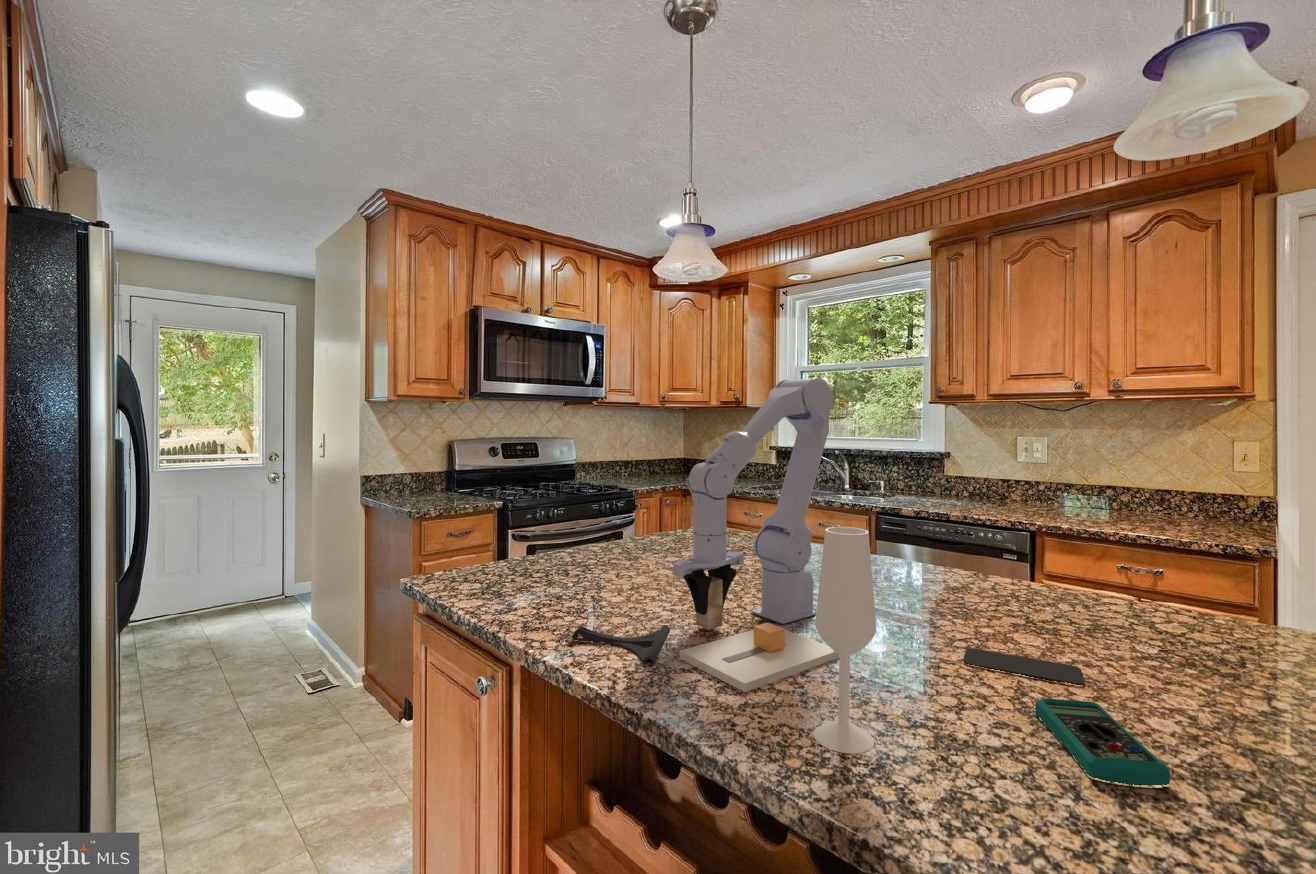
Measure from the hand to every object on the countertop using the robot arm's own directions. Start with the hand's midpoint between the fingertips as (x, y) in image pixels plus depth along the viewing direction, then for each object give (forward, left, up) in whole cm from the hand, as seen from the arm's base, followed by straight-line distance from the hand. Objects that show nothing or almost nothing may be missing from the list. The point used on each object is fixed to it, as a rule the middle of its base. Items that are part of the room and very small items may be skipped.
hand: (709, 611), depth 106 cm
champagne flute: (+11, +36, -3) cm, 38 cm away
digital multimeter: (-10, +54, -4) cm, 55 cm away
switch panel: (+2, +14, -3) cm, 15 cm away
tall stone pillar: (0, 0, -2) cm, 2 cm away
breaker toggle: (0, +14, -2) cm, 14 cm away
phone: (-27, +39, -4) cm, 48 cm away
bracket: (+16, -4, -4) cm, 17 cm away
